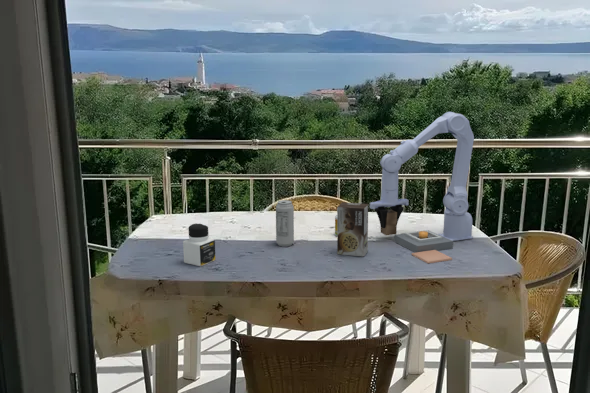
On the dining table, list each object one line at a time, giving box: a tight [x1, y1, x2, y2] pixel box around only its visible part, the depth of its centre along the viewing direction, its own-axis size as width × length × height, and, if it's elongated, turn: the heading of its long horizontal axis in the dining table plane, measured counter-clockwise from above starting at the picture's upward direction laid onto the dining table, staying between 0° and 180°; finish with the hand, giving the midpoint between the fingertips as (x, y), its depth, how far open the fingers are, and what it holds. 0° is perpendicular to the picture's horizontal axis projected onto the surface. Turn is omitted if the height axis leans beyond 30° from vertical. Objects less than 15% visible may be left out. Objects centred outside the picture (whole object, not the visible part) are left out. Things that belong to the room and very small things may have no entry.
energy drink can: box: [275, 199, 295, 248], centre depth 194 cm, size 6×6×15 cm
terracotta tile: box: [411, 250, 453, 264], centre depth 181 cm, size 9×9×1 cm
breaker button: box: [418, 230, 428, 239], centre depth 193 cm, size 3×3×2 cm
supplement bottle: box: [334, 214, 337, 237], centre depth 205 cm, size 5×5×10 cm
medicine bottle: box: [182, 222, 216, 267], centre depth 177 cm, size 7×7×12 cm
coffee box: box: [336, 202, 369, 257], centre depth 184 cm, size 9×6×16 cm
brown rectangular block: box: [380, 209, 398, 236], centre depth 200 cm, size 4×4×8 cm
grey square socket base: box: [393, 229, 454, 253], centre depth 194 cm, size 14×14×4 cm
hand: (388, 226), depth 200 cm, fingers closed on brown rectangular block, 4 cm apart
